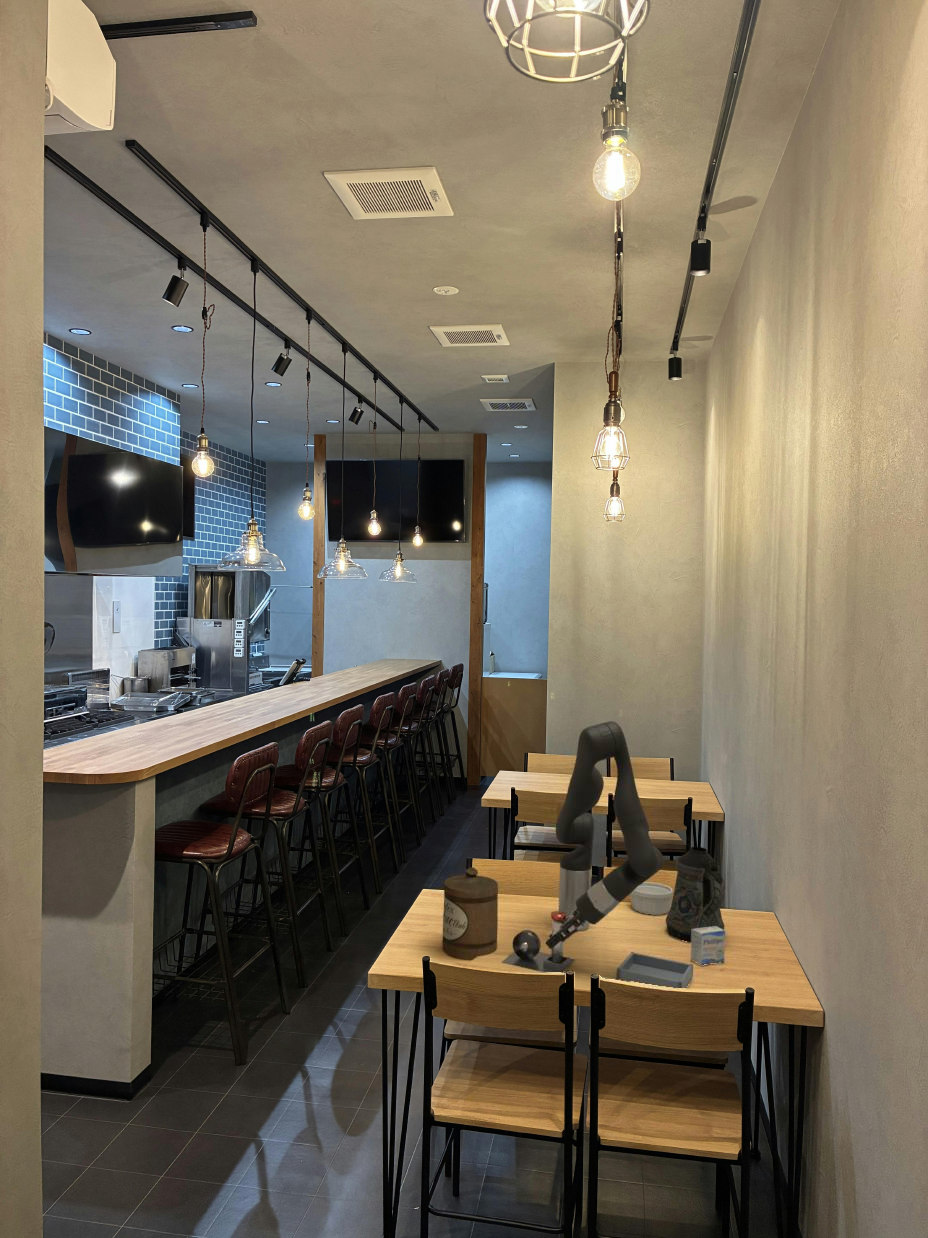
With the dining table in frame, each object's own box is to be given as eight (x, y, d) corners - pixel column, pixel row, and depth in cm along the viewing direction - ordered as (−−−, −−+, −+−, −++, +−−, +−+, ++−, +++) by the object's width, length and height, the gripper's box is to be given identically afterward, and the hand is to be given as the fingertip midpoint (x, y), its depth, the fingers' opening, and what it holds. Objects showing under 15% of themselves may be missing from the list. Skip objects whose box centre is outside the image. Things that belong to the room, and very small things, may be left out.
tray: (630, 965, 228) (631, 952, 228) (692, 978, 221) (693, 964, 221) (616, 983, 216) (617, 969, 216) (681, 997, 209) (681, 983, 209)
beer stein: (683, 920, 265) (686, 838, 265) (743, 938, 251) (746, 851, 251) (654, 933, 253) (657, 847, 253) (716, 952, 239) (719, 861, 239)
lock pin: (552, 961, 226) (554, 910, 226) (566, 964, 225) (567, 913, 225) (547, 966, 223) (548, 914, 223) (561, 969, 221) (562, 917, 221)
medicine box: (700, 967, 229) (701, 933, 229) (689, 960, 233) (691, 928, 233) (724, 963, 232) (725, 930, 232) (713, 957, 236) (714, 925, 236)
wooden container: (434, 942, 239) (437, 862, 239) (484, 937, 244) (487, 859, 244) (453, 963, 225) (455, 878, 225) (505, 957, 231) (508, 874, 231)
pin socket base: (519, 951, 235) (520, 921, 235) (575, 963, 228) (576, 933, 228) (500, 966, 224) (501, 935, 224) (559, 979, 217) (560, 947, 217)
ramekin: (645, 900, 283) (646, 879, 283) (680, 911, 273) (681, 889, 273) (620, 908, 274) (621, 886, 274) (655, 920, 264) (656, 897, 264)
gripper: (592, 882, 228) (545, 922, 232) (584, 898, 215) (534, 940, 218) (612, 904, 227) (564, 944, 230) (604, 922, 213) (554, 964, 217)
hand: (550, 942), depth 224 cm, fingers open, 4 cm apart
